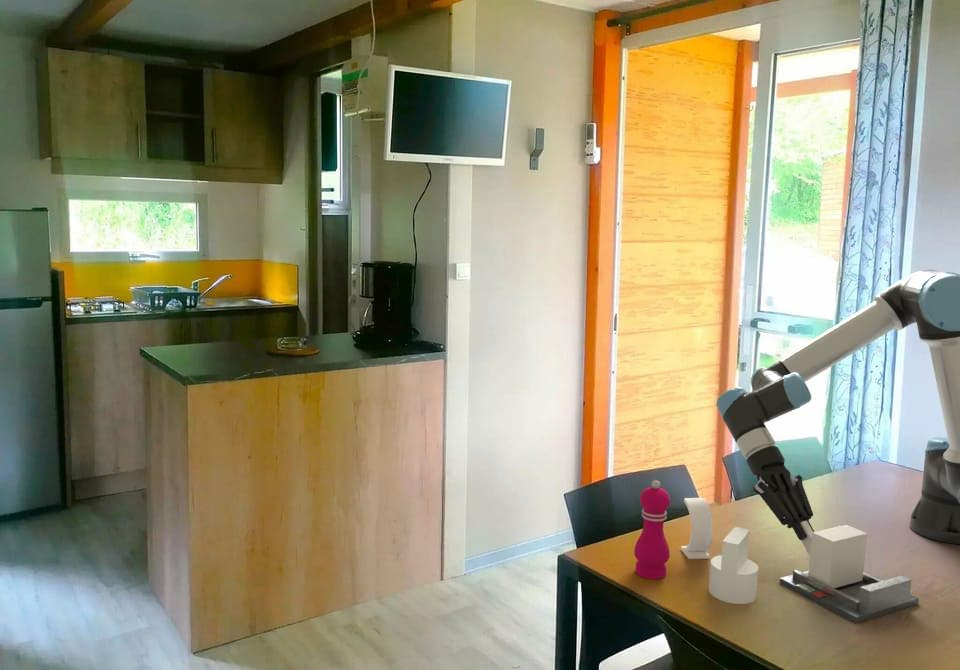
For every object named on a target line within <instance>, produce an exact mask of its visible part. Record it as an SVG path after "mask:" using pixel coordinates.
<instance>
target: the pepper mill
mask: <svg viewBox="0 0 960 670" xmlns="http://www.w3.org/2000/svg"><path fill="white" fill-rule="evenodd" d="M639 498H640V499H639V501H640V502H639V503H640V505H641V506H642V509H641V512H642V513H641V517H642V518H643V528H642V531H641V533H640V535H639V537H638V538H637V541H636V542H635V543H636V544H635V546H634V550H633V553H634V556H635V558H636V560H637V561H636V563H635V573H636V574H637V576H639V577H641V578H645V579H647V580H661V579H663V578H665V577H666V575H667V565H666V563H667V562H668V561H669V559H670V557H671V556H670V555H671V554H670V546H669V544H668V542H667V539H666V536H665V533H664V523H665V520H667V518H668V517H667V514H668V513H667V509H668V508H669V507H670V503H671V497H670V495H669V493H668V492H667V491H666V489H664V488H662V487H661V482H660V481H659V480H653V481H651V486H648V487H647V488H645V489H644V490H642V492H641V494H640V497H639Z"/></svg>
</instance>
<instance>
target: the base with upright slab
mask: <svg viewBox="0 0 960 670" xmlns="http://www.w3.org/2000/svg"><path fill="white" fill-rule="evenodd" d="M750 532H751V531H750V529H746V528H743V527H737V526H735V527H733V528H732V529H731V531H730V532H729V533H728V534H727V535H726V536H725V538H724V539H723V540H722V548H721V549H722V550H721V555H720V554H719V555H715V556H713V557H712V558H711V560H710V567H709V579H708V580H709V581H708V592H709V594H710V595H711V596H712V597H714V598H715V599H718V600H720V601H722V602H725V603H728V604H729V603H730V604H735V605H736V604H737V605H739V604H740V605H745V604H750V603H754V601H755V600H756V599H757V591H758V578H759V577H758V576H759V566H758V564H757V563H755V561H754V560H750V559H748V558H749V546H750V545H749V544H750Z"/></svg>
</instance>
